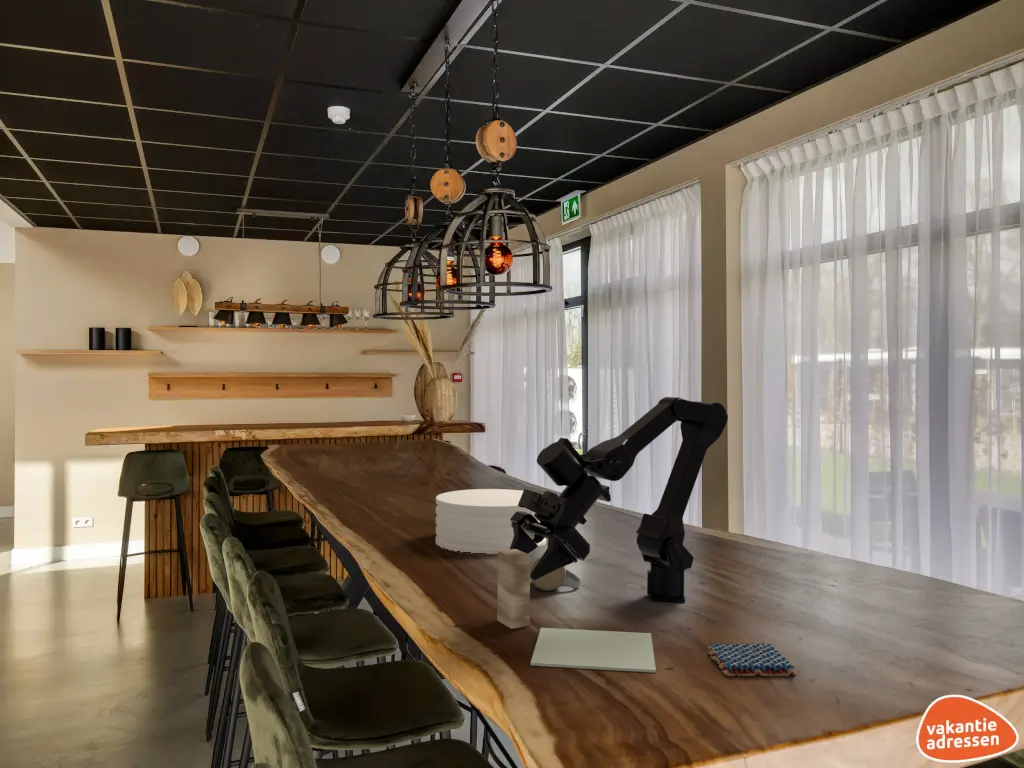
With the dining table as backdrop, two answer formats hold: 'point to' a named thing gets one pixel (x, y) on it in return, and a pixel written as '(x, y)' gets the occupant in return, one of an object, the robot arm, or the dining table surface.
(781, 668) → the woven mat
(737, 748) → the dining table surface
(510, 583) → the beige rectangular block
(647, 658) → the sage placemat
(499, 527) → the plate stack
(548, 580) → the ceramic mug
